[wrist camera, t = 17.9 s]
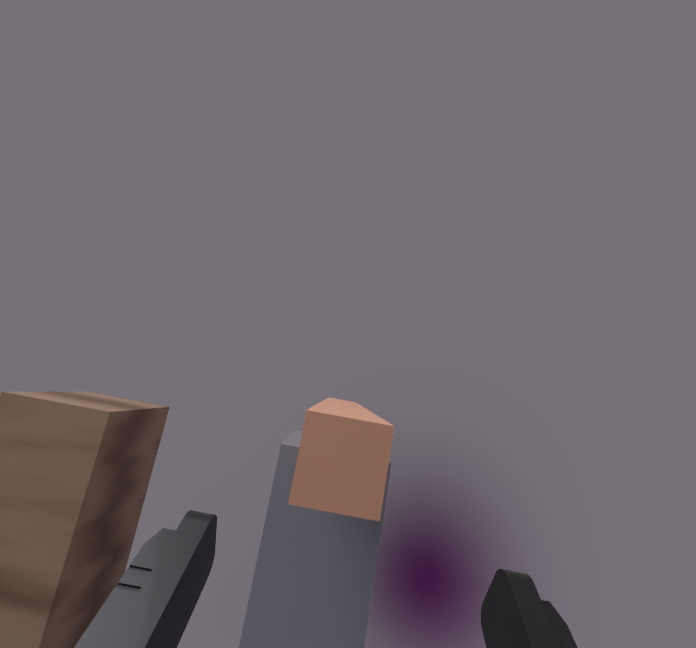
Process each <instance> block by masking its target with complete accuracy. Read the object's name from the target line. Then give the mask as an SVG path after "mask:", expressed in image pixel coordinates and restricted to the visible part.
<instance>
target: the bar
mask: <svg viewBox="0 0 696 648" xmlns="http://www.w3.org/2000/svg"><path fill="white" fill-rule="evenodd" d="M393 430H394V426H393V425H391V424H390V423H388V422H387V421H385V420H383V419H382V418H380V417H378V416H377V415H375V414H374V413H372V412H370V411H368V410H367V409H366V408H364V407H362V406H361V405H359V404H357V403H356V402H351V401H345V400H340V399H334V398H327V399H326V400H324V401H322V402H320V403H318V404H317V405H315V406H313V407H311V408H310V409H308V410H307V412H306V417H305V422H304V427H303V432H302V437H301V442H300V447H299V452H298V457H297V462H296V467H295V472H294V477H293V482H292V487H291V492H290V497H289V503H288V504H289V505H294V506H300V507H305V508H310V509H316V510H321V511H326V512H332V513H337V514H342V515H348V516H353V517H358V518H364V519H369V520H374V521H380V518H381V511H382V504H383V498H384V491H385V484H386V478H387V471H388V464H389V458H390V451H391V444H392V437H393Z"/></svg>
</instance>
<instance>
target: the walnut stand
mask: <svg viewBox="0 0 696 648" xmlns="http://www.w3.org/2000/svg"><path fill="white" fill-rule="evenodd" d="M168 410H169V407H168V406H162V405H157V404H152V403H146V402H141V401H135V400H130V399H124V398H119V397H114V396H109V395H103V394H98V393H92V392H2V393H1V396H0V648H74V647H75V645H76V644H77V642H78V641H79V639H80V638H81V636H82V635H83V633H84V632H85V631H86V629H87V628H88V626H89V625H90V623H91V622H92V620H93V619H94V617H95V616H96V614H97V613H98V611H99V610H100V608H101V607H102V605H103V604H104V602H105V601H106V599H107V598H108V597H109V595H110V594H111V592H112V591H113V589H114V588H115V587H116V586H117V585H118V582H119V580H120V579H121V577H122V576H123V574H124V573H125V569H126V565H127V561H128V558H129V554H130V551H131V547H132V543H133V540H134V536H135V532H136V528H137V525H138V521H139V517H140V514H141V510H142V506H143V503H144V499H145V495H146V492H147V488H148V484H149V481H150V477H151V473H152V470H153V466H154V462H155V458H156V455H157V450H158V447H159V444H160V440H161V436H162V433H163V429H164V425H165V422H166V418H167V414H168Z"/></svg>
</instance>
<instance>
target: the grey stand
mask: <svg viewBox="0 0 696 648" xmlns="http://www.w3.org/2000/svg"><path fill="white" fill-rule="evenodd" d="M302 432H303V431H297V430H296V431H295V432H294V433H293V434H292V435H291V436H290V437H288V438H287V439H286V440H285V441H284V442H283V443H282V444H281V447H280V452H279V457H278V462H277V466H276V471H275V476H274V481H273V486H272V490H271V495H270V500H269V505H268V510H267V515H266V520H265V524H264V529H263V534H262V539H261V543H260V548H259V553H258V558H257V563H256V568H255V573H254V578H253V583H252V587H251V592H250V596H249V601H248V606H247V611H246V616H245V621H244V625H243V631H242V635H241V640H240V645H239V648H364V642H365V636H366V630H367V623H368V616H369V609H370V602H371V596H372V589H373V583H374V576H375V569H376V562H377V556H378V548H379V542H380V536H381V529H382V522H383V515H384V509H385V502H386V495H387V488H388V482H389V475H390V468H391V464H390V462H389V464H388V471H387V478H386V484H385V491H384V498H383V504H382V511H381V518H380V521H374V520H369V519H364V518H358V517H353V516H348V515H342V514H337V513H332V512H326V511H321V510H316V509H310V508H305V507H300V506H294V505H289V504H288V503H289V497H290V492H291V487H292V482H293V477H294V472H295V467H296V462H297V457H298V452H299V447H300V442H301V437H302Z"/></svg>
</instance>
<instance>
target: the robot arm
mask: <svg viewBox="0 0 696 648" xmlns="http://www.w3.org/2000/svg"><path fill="white" fill-rule="evenodd" d="M216 526H217V516H216V515H213V514H207V513H202V512H197V511H192V510H190V511H189V512H187V514H186V515H185V516H184V518H183V520H182V521H181V523H180V525H179V526H178V528H177V530H176V531H175V530H169V529H164V528H163V529H162V530H161V531H159V532H158V533H157V534H156V535H154V536H153V537H152V538H151V539H150V540H148V541H147V542H146V543H145V544H144V545H143V546H142V548H141V549H140V551H139V552H138V554H137V555H136V557H135V558H134V560H133V561H132V563H131V564H130V567H129V569H127V570H126V571H125V573H124V574H123V576H122V577H121V579H120V580H119V582H118V585H117V586H116V587H115V588H114V589H113V591H112V592H111V594H110V595H109V597H108V598H107V599H106V601H105V602H104V604H103V605H102V607H101V608H100V610H99V611H98V613H97V614H96V616H95V617H94V619H93V620H92V622H91V623H90V625H89V626H88V628H87V629H86V631H85V632H84V633H83V635H82V636H81V638H80V639H79V641H78V642H77V644H76V645H75V647H74V648H177V646H178V644H179V641H180V639H181V637H182V635H183V632H184V630H185V628H186V626H187V623H188V621H189V619H190V617H191V614H192V612H193V610H194V608H195V605H196V603H197V601H198V599H199V596H200V594H201V592H202V590H203V587H204V585H205V583H206V580H207V578H208V576H209V573H210V570H211V567H212V564H213V560H214V555H215V543H216ZM481 625H482V631H483V635H484V639H485V643H486V647H487V648H577V646H576V643H575V641H574V639H573V637H572V635H571V632H570V630H569V628H568V626H567V624H566V623H565V621H564V620H563V619H562V618H561V616H560V615H559V614H558V612H557V611H556V610H555V608H554V607H553V606H552V604H551V603H550V602H548V601H543V600H541V599H540V597H539V594H538V592H537V589H536V587H535V585H534V582H533V580H532V579H531V577H530V576H529V575H527V574H525V573H520V572H515V571H510V570H504V569H498V570H497V572H496V574H495V576H494V578H493V580H492V583H491V585H490V587H489V590H488V592H487V594H486V596H485V599H484V601H483V604H482V609H481Z"/></svg>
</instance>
